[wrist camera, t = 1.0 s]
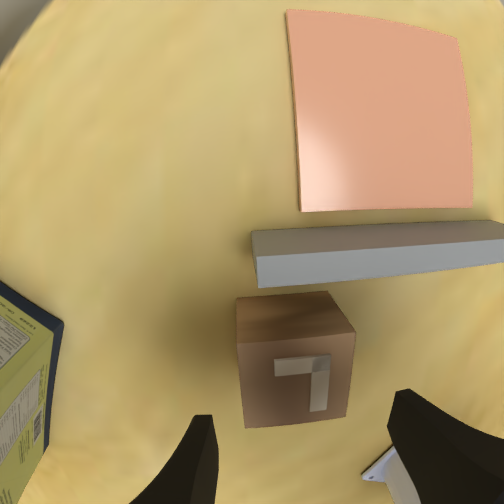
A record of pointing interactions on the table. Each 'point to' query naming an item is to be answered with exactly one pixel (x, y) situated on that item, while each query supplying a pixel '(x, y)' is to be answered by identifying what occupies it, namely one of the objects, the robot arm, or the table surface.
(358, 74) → the terracotta tile
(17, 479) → the protein box
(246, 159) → the table surface
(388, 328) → the table surface
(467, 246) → the slate screen
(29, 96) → the table surface
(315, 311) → the walnut cube
